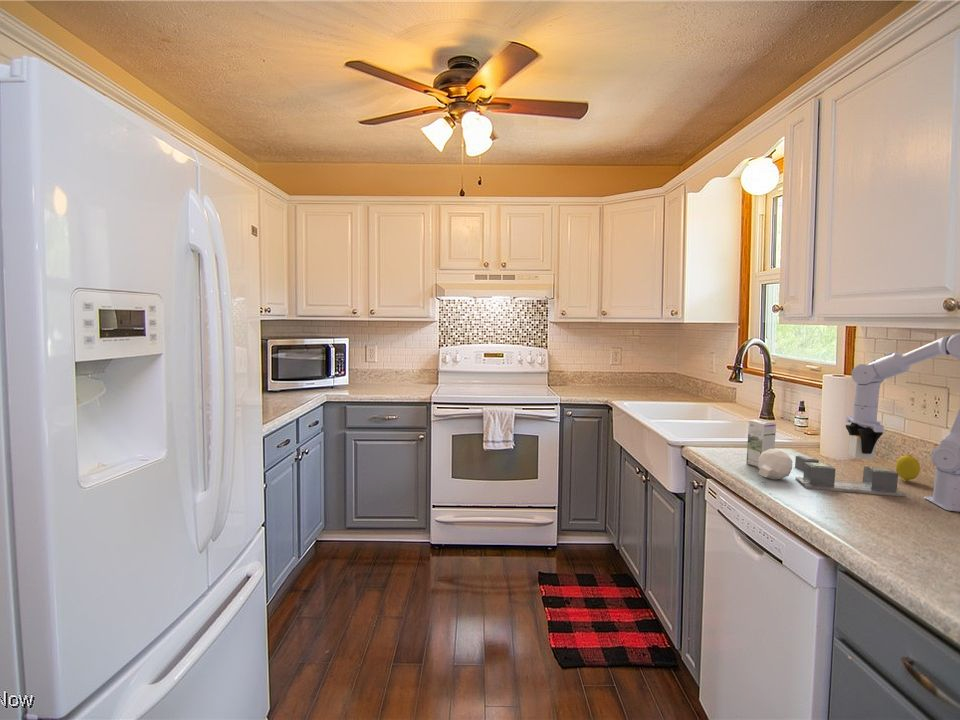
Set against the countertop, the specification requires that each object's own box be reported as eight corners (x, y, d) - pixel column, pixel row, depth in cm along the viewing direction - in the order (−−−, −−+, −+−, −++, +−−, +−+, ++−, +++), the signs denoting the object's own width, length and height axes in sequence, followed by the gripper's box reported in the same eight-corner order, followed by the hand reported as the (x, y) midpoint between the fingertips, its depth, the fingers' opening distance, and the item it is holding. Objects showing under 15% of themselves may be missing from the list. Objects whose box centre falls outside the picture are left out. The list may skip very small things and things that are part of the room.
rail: (905, 496, 140) (907, 474, 139) (805, 488, 145) (807, 467, 144) (889, 487, 147) (891, 466, 147) (795, 479, 153) (796, 459, 152)
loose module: (874, 459, 151) (876, 438, 151) (855, 458, 152) (856, 437, 152) (867, 456, 155) (869, 435, 155) (848, 454, 156) (850, 434, 156)
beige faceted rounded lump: (762, 464, 161) (743, 476, 154) (772, 439, 157) (754, 450, 150) (791, 479, 155) (773, 492, 148) (802, 454, 151) (785, 465, 144)
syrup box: (774, 467, 165) (777, 422, 164) (760, 469, 163) (763, 423, 162) (758, 462, 170) (761, 418, 169) (745, 464, 168) (748, 419, 167)
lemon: (892, 477, 157) (895, 451, 157) (916, 480, 154) (919, 453, 154) (896, 482, 152) (898, 455, 152) (920, 485, 150) (923, 458, 149)
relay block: (817, 473, 160) (819, 459, 160) (805, 472, 160) (806, 459, 160) (807, 468, 165) (808, 455, 165) (794, 468, 165) (795, 455, 165)
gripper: (897, 410, 145) (892, 458, 146) (865, 401, 159) (861, 445, 160) (869, 409, 146) (865, 457, 147) (840, 401, 160) (836, 444, 161)
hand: (861, 451), depth 154 cm, fingers closed on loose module, 4 cm apart
